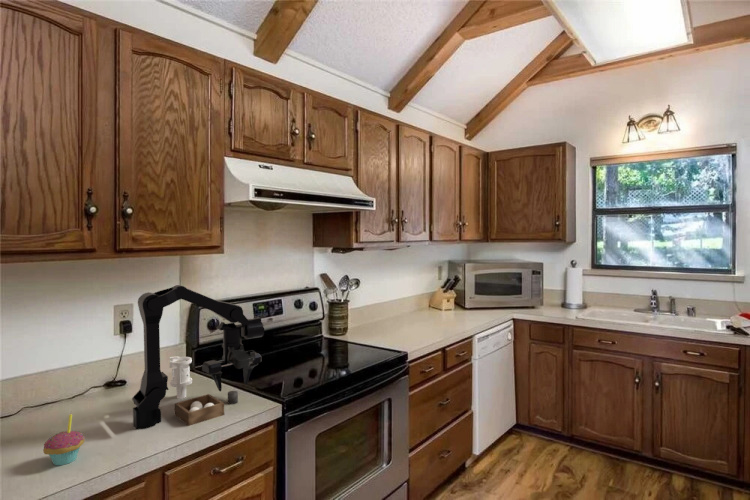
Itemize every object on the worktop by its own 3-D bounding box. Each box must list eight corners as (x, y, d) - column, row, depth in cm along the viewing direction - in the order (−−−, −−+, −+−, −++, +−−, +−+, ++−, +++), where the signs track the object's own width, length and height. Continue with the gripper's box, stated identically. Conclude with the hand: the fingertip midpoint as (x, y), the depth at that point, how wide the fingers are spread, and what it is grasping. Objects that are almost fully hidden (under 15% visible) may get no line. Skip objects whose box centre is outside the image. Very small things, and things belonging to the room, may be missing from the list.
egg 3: (206, 417, 133) (206, 406, 133) (201, 414, 136) (201, 403, 136) (217, 414, 136) (217, 403, 136) (212, 411, 139) (212, 400, 138)
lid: (224, 416, 138) (224, 401, 138) (208, 406, 146) (208, 392, 146) (256, 406, 146) (256, 392, 146) (240, 397, 154) (240, 384, 154)
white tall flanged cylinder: (173, 396, 154) (172, 354, 153) (194, 394, 155) (193, 353, 155) (167, 403, 147) (166, 359, 146) (189, 402, 148) (189, 358, 148)
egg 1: (193, 416, 135) (192, 404, 135) (188, 412, 137) (188, 401, 137) (204, 412, 137) (204, 401, 137) (199, 409, 140) (199, 398, 140)
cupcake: (68, 450, 115) (67, 405, 115) (93, 455, 113) (92, 409, 112) (35, 467, 107) (33, 419, 107) (61, 472, 105) (59, 423, 104)
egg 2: (191, 422, 130) (191, 410, 130) (186, 418, 133) (186, 407, 133) (203, 418, 133) (202, 407, 133) (198, 415, 135) (197, 404, 135)
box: (188, 428, 128) (188, 413, 128) (174, 417, 136) (174, 403, 136) (224, 417, 136) (224, 403, 136) (208, 407, 144) (208, 393, 143)
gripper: (216, 351, 133) (217, 401, 133) (269, 340, 146) (270, 386, 147) (200, 345, 141) (201, 392, 141) (252, 335, 154) (253, 378, 155)
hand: (233, 387), depth 146 cm, fingers open, 9 cm apart
